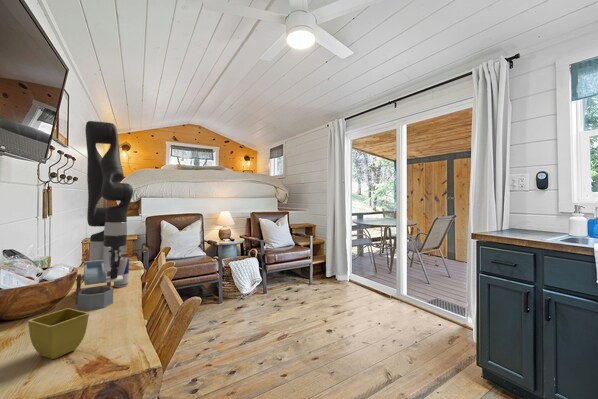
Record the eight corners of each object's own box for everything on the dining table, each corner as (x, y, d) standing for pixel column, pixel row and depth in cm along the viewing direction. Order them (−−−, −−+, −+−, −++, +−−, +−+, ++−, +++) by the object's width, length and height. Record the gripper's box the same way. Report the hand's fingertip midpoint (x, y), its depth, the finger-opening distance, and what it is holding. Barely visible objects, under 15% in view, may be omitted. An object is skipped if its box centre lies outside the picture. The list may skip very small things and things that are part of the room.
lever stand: (75, 291, 113) (76, 270, 113) (108, 287, 119) (109, 267, 120) (75, 304, 99) (76, 280, 99) (112, 298, 106) (113, 275, 106)
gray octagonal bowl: (77, 303, 101) (78, 289, 101) (110, 297, 107) (111, 284, 107) (77, 312, 93) (78, 297, 93) (113, 305, 99) (114, 291, 99)
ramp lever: (81, 272, 113) (82, 261, 112) (118, 268, 121) (119, 258, 120) (82, 289, 102) (82, 277, 101) (122, 283, 110) (123, 272, 109)
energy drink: (131, 284, 124) (132, 257, 124) (122, 287, 119) (123, 259, 119) (119, 283, 125) (120, 256, 125) (110, 287, 120) (111, 259, 120)
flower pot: (25, 357, 66) (26, 319, 66) (66, 341, 74) (68, 307, 74) (48, 366, 63) (50, 326, 63) (88, 348, 71) (90, 312, 71)
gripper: (102, 232, 112) (100, 275, 112) (105, 235, 101) (103, 283, 101) (124, 231, 117) (122, 273, 116) (129, 234, 106) (127, 280, 106)
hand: (113, 278), depth 109 cm, fingers closed
